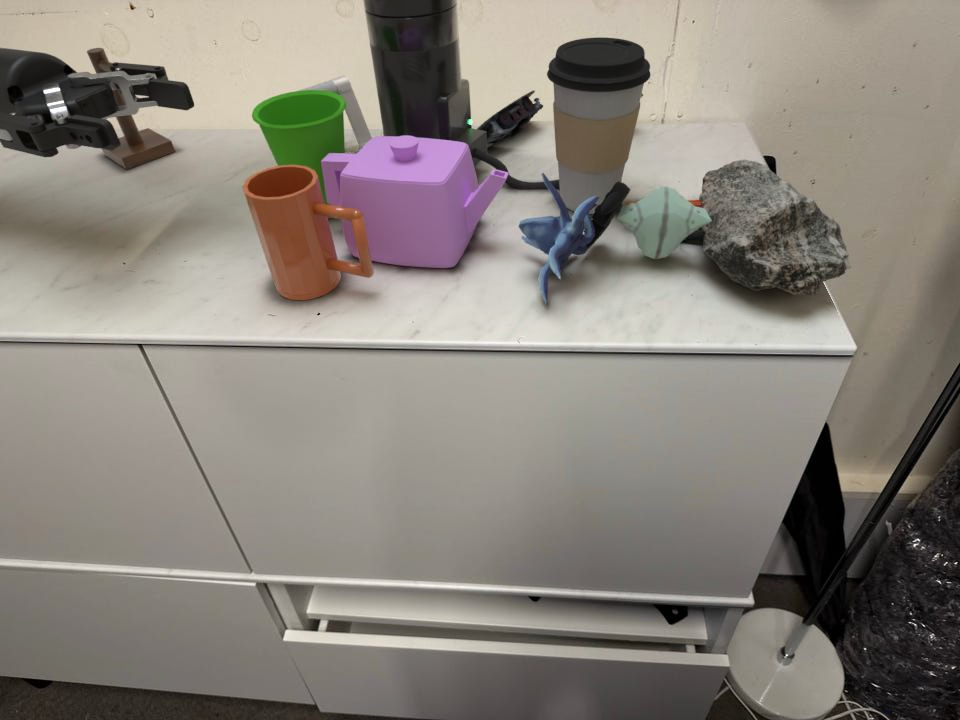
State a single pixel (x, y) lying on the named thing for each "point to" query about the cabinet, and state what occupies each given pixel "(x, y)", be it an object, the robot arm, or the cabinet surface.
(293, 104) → the cup
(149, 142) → the mug stand
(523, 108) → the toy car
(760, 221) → the rock
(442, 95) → the robot arm
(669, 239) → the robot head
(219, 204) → the cabinet surface
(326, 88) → the tablet stand
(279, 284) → the mug
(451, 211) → the teapot
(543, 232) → the figurine
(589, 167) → the coffee cup
